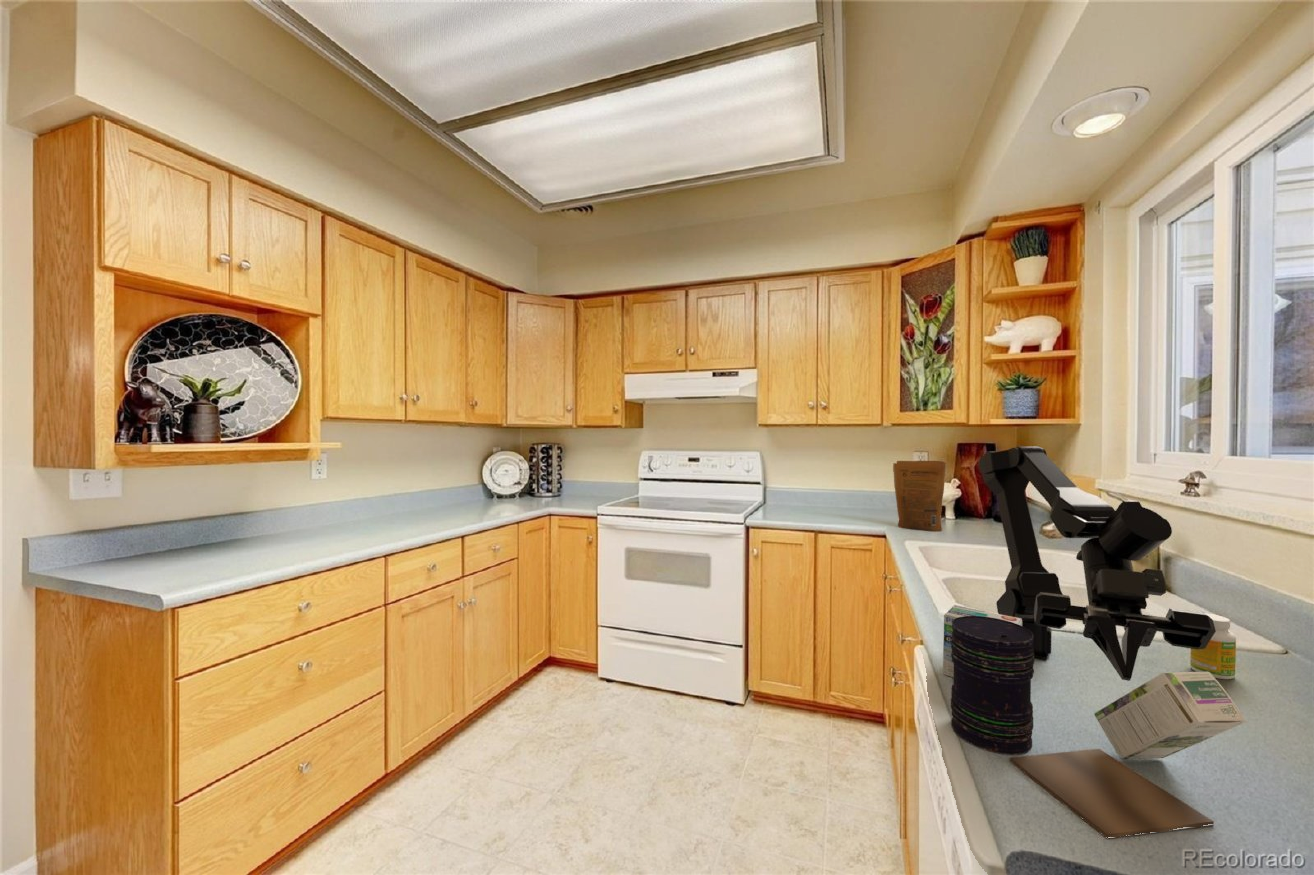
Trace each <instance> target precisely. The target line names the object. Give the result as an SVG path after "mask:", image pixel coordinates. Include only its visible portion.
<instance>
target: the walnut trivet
mask: <svg viewBox="0 0 1314 875" xmlns="http://www.w3.org/2000/svg"><path fill="white" fill-rule="evenodd" d="M1009 762H1010V763H1011V764H1013V765H1014V766H1016V768H1017V769H1019V770H1020V771H1022V772H1023V773H1024V772H1025V773H1024V774H1025V775H1027V777H1029V778H1030V779H1031V780H1033V781H1034V782H1035V783H1037V784H1038V785H1039V786H1040V787H1042V788H1043V789H1044V790H1045V791H1047V792H1048V793H1049V794H1050V795H1052V796H1053V797H1054V798H1055V799H1056V800H1058V801H1059V802H1060V803H1061V804H1063V805H1064V806H1065V807H1067V808H1068V810H1070V809H1071V810H1070V811H1071V812H1073V813H1075V815H1077V816H1078V817H1079V818H1080V819H1082V818H1083V819H1082V820H1083V821H1084V822H1085V821H1086V822H1085V823H1087V824H1088V823H1089V824H1088V825H1089V826H1090V825H1091V826H1090V827H1092V828H1093V827H1094V828H1095V829H1096V830H1095V831H1096V832H1097V833H1099V832H1100V833H1102V834H1103V835H1104V836H1105V837H1107V838H1108V837H1119V838H1121V837H1120V836H1126V835H1127V837H1129V836H1128V835H1135V834H1140V833H1141V834H1142V833H1150V832H1159V833H1162V832H1161V831H1168V832H1170V831H1169V830H1173V829H1177V828H1183V827H1200V828H1202V827H1201V826H1203V825H1208V824H1213V825H1214V820H1212V819H1211V818H1209V817H1208V816H1206V815H1205V814H1204V813H1201V812H1200V811H1198V810H1197V809H1195V808H1194V807H1192V806H1190V805H1189V804H1188V803H1186V802H1184V801H1182V800H1181V799H1179V798H1178V797H1176V796H1175V795H1174V794H1172V793H1170V792H1168V791H1167V790H1165V789H1164V788H1162V787H1161V786H1159V785H1157V784H1156V783H1154V782H1152V781H1151V780H1149V779H1148V778H1146V777H1145V776H1143V775H1142V774H1140V773H1138V772H1137V771H1135V770H1134V769H1132V768H1131V767H1130V766H1127V765H1126V764H1124V763H1123V762H1121V761H1119V760H1118V759H1116V758H1114V757H1113V756H1112V755H1110V754H1108V753H1107V752H1105V751H1103V750H1102V749H1101V748H1094V749H1083V750H1082V749H1081V750H1074V751H1072V750H1071V751H1063V752H1055V753H1053V752H1052V753H1043V754H1033V755H1024V756H1014V757H1012V756H1011V757H1010V758H1009ZM1094 828H1093V829H1094ZM1100 833H1099V834H1100ZM1102 834H1101V835H1102ZM1103 835H1102V836H1103ZM1104 836H1103V837H1104ZM1135 836H1136V835H1135ZM1105 837H1104V838H1105ZM1107 838H1106V839H1107Z"/></svg>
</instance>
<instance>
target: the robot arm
mask: <svg viewBox="0 0 1314 875" xmlns="http://www.w3.org/2000/svg"><path fill="white" fill-rule="evenodd" d="M978 470H979V472H980V473H981V477H982V479H983V483H984V485H985V486H986V487H987V488H988V489H989V490H990V491H991V492H992V493H993V494H994V495H995V496H996V500H997V505H998V509H999V514H1000V519H1001V524H1002V528H1003V534H1004V537H1005V543H1006V548H1007V551H1008V553H1007V554H1008V557H1009V561H1010V565H1011V568H1010V570H1009V572H1008V575H1006V576H1007V577H1006V579H1005V581H1004V585H1005V591H1004V592H1003V594H1002V595H1001V596H1000V597H999V599H998V600H997V601H996V603H995V604H996V610H997V614H1001V615H1006V616H1011V617H1016V618H1021V619H1022V626H1023V627H1025V628H1027V629H1028V630H1030V631H1031V632H1032V634H1033V644H1032V645H1033V653H1034V658H1037V659H1040V660H1046V661H1047V660H1048V659H1049V657H1048V656H1049V655H1051V654H1052V638H1053V637H1052V631H1053V630H1052V629H1058V630H1060V629H1061V630H1062V628H1064V627H1065V626H1066V625H1067V619H1068V620H1074V621H1081V622H1082V625H1084V628H1083V631H1082V635H1083V637H1084V638H1086V639H1089V640H1090V639H1091V640H1092V641H1093V643H1094V644H1096V646H1097V647H1098V648H1099V649H1100V650H1101V651H1102V653H1103V654H1104V656H1106V658H1107V660H1108V661H1109V663H1110V664H1111V665H1112V667H1113V668H1114V670H1115V671H1116V673H1117V674H1118V676H1119V677H1120V679H1121V680H1122V681H1128V682H1129V681H1131V680H1132V676H1133V672H1134V669H1135V664H1136V661H1137V656H1138V653H1139V650H1140V648H1141V647H1143V648H1146V647H1148V648H1149V647H1150V646H1151V644H1152V642H1153V641H1154V637H1155V636H1156V634H1157V632H1158V633H1159V632H1160V633H1162V637H1163V640H1164V641H1165V642H1167V643H1168V644H1169V645H1171V646H1172V647H1179V648H1185V649H1190V650H1191V649H1197V650H1199V649H1205V648H1206V646H1207V645H1208V643H1209V641H1210V640H1211V638H1212V637H1213V635H1214V633H1215V632H1216V630H1215V626H1214V623H1213V620H1212V619H1211V618H1210V617H1209V616H1208V615H1207V614H1208V613H1206V614H1205V612H1204V611H1198V610H1189V609H1182V608H1173V607H1169V609H1168V611H1167V613H1166V615H1165V616H1164V617H1163V616H1156V615H1148V614H1143V613H1142V612H1143V611H1142V610H1146V608H1147V606H1148V605H1147V599H1149V598H1150V596H1159V597H1162V596H1163V595H1164V594H1166V593H1167V585H1166V584H1167V583H1166V578H1165V575H1164V574H1165V573H1164V572H1163V570H1162V569H1153V568H1145V569H1144V570H1141V571H1134V569H1133V568H1134V567H1133V562H1134V561H1135V562H1136V561H1141V560H1144V559H1145V558H1146V557H1147V556H1148V555H1150V554H1151V553H1152V552H1154V551H1155V550H1156V549H1157V548H1158V547H1160V546H1161V545H1162V544H1163V543H1165V541H1167V540H1168V539H1169V538H1170V537H1171V536H1172V533H1173V530H1172V529H1173V528H1172V526H1171V524H1170V522H1169V521H1168V519H1167V518H1164V517H1163V516H1161V515H1160V514H1158V512H1156V511H1154V510H1152V509H1150V508H1146V507H1144V506H1143V505H1142V504H1141V502H1140V501H1139V500H1122V502H1121V503H1120V504H1119V505H1118V506H1117V508H1116V509H1115V508H1114V507H1113V506H1112V505H1110V504H1109V503H1108V502H1106V501H1105V500H1104V499H1102V498H1101V497H1099V496H1097V495H1095V494H1093V493H1089V492H1087V491H1085V490H1082V489H1081V488H1079V487H1078V486H1077V485H1076V484H1075V483H1074V482H1073V481H1072V480H1071V479H1070V478H1069V477H1068V476H1067V475H1066V474H1065V473H1064V472H1063V471H1062V470H1061V469H1060V468H1059V467H1058V466H1057V465H1056V464H1055V463H1054V461H1052V459H1050V457H1048V455H1047V450H1045V448H1043V447H1040V446H1034V445H1033V446H1030V445H1029V446H1023V445H1022V446H1020V445H1019V446H1014V447H1011V448H1009V449H1005V450H994V451H991V450H990V451H986V452H985V453H984V455H983V456H981V457H980V458H979V459H978ZM1029 483H1030V484H1031V485H1032V486H1033V487H1034V488H1035V489H1036V490H1037V492H1038V493H1039V494H1040V495H1041V497H1042V498H1043V499H1044V500H1045V501H1046V502H1047V503H1048V506H1050V515H1049V518H1050V520H1051V521H1052V523H1053V525H1054V526H1055V528H1056V530H1057V531H1058V532H1059V534H1060V535H1061V536H1062V537H1064V538H1066V539H1087V540H1085V542H1084V543H1082V544H1081V546H1080V550H1079V551H1078V552H1077V554H1076V556H1075V557H1076V558H1075V559H1076V560H1077V561H1081V562H1082V564H1083V565H1082V566H1083V572H1084V578H1085V579H1084V580H1085V585H1086V586H1085V587H1086V594H1087V599H1088V604H1086V605H1085V606H1079V605H1072V602H1071V597H1070V595H1068V594H1063V592H1062V590H1061V587H1060V586H1061V585H1060V581H1059V577H1058V576H1057V574H1056V573H1054V572H1049V570H1047V569H1046V568H1045V567H1044V566H1043V564H1042V563H1043V562H1042V561H1041V560H1042V559H1041V555H1040V551H1039V550H1040V549H1039V546H1038V542H1037V538H1036V534H1035V529H1034V525H1033V521H1032V517H1031V512H1030V508H1029V504H1028V499H1027V495H1026V489H1027V487H1028V485H1029ZM1117 626H1118V627H1123V630H1124V633H1123V636H1122V638H1121V644H1120V641H1119V638H1118V634H1117Z"/></svg>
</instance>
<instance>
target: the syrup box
mask: <svg viewBox="0 0 1314 875" xmlns="http://www.w3.org/2000/svg"><path fill="white" fill-rule="evenodd" d="M1094 717H1095V719H1096V720H1097V722H1098V724H1099V725H1100V727H1101V729H1102V731H1103V732H1104V734H1105V736H1106V737H1107V739H1108V741H1109V743H1110V744H1111V746H1112V747H1113V749H1114V750H1115V752H1116V754H1117V756H1118V757H1119V759H1120V760H1123V761H1124V760H1125V761H1126V760H1142V759H1143V760H1145V759H1146V760H1149V759H1163V758H1166V757H1169V756H1171V755H1174V754H1176V753H1178V752H1180V751H1183V750H1185V749H1188V748H1190V747H1192V746H1195V745H1197V744H1199V743H1202V742H1203V741H1204V742H1205V741H1207V740H1209V739H1210V738H1213V737H1216V736H1218V735H1220V734H1223V733H1224V732H1226V731H1229V730H1232V729H1234V728H1236V727H1238V726H1240V725H1242V724H1246V723H1247V720H1246V718H1245V717H1244V716H1243V714H1242V712H1241V710H1239V708H1238V706H1237V705H1236V703H1235V702H1234V701H1233V699H1232V698H1231V696H1230V695H1229V693H1228V692H1227V691H1226V690H1225V689H1224V687H1223V686H1222V685H1221V683H1220V682H1219V681H1218V680H1217V678H1214V677H1213V676H1212V674H1211V673H1210V672H1196V671H1191V672H1189V671H1186V672H1185V671H1184V672H1183V671H1182V672H1162V673H1160V674H1158V675H1157V676H1155V677H1153V678H1151V679H1150V680H1148V681H1147V682H1144V683H1143V684H1141V685H1140V686H1138V687H1136V688H1135V689H1132V690H1131V691H1130V692H1127V693H1126V694H1125V695H1123V696H1121V697H1119V698H1118V699H1116V700H1115V701H1113V702H1110V703H1109V704H1108V705H1107V706H1104V707H1102V708H1101V709H1099V710H1098V711H1096V712H1094Z"/></svg>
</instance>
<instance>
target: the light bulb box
mask: <svg viewBox="0 0 1314 875" xmlns="http://www.w3.org/2000/svg"><path fill="white" fill-rule="evenodd" d="M963 616H983V617H991V618H997V619H1001V620H1005V621H1009V622H1012V623H1015V624H1018V625H1020V626H1022V619H1021V618H1016V617H1011V616H1006V615H1001V614H998V613H995V612H990V611H986V610H980V609H976V608H971V607H967V606H966V607H965V606H961V605H956V604H953V606H952V607H951V608H949V610H948V611H947V612H946V613H944V615H943V642H942V643H943V650H942V651H943V652H942V654H943V655H942V656H943V657H942V675H943V676H946V677H947V676H948V677H951V678H954V663H953V662H952V657H951V653H952V649H951V639H952V631H953V629H952V621H953V620H954V619H955V618H958V617H963Z"/></svg>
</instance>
